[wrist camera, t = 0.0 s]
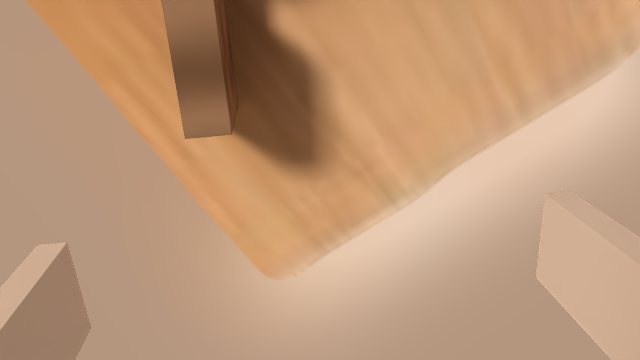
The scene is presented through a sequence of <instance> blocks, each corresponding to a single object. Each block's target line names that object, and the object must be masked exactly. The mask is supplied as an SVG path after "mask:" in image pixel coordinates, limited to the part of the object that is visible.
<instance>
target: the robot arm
mask: <svg viewBox="0 0 640 360" xmlns="http://www.w3.org/2000/svg"><path fill="white" fill-rule="evenodd" d="M536 278H537V279H538V280H539V281H540V282H541V283H542V284H543V286H544V287H545V288H546V289H547V290H548V291H549V292H550V293H551V294H552V295H553V296H554V298H555V299H556V300H557V301H558V302H559V303H560V304H561V305H562V306H563V307H564V308H565V310H566V311H567V312H568V313H569V314H570V315H571V316H572V317H573V318H574V319H575V320H576V322H577V323H578V324H579V325H580V326H581V327H582V328H583V329H584V330H585V331H586V332H587V334H588V335H589V336H590V337H591V338H592V339H593V340H594V341H595V342H596V343H597V344H598V345H599V347H600V348H601V349H602V350H603V351H604V352H605V353H606V354H607V355H608V356H609V358H610V359H611V360H640V238H639V237H638V236H636V235H635V234H633V233H632V232H630V231H629V230H627V229H626V228H624V227H623V226H622V225H620V224H619V223H617V222H616V221H614V220H613V219H611V218H610V217H608V216H607V215H605V214H604V213H603V212H601V211H600V210H598V209H597V208H595V207H594V206H592V205H591V204H589V203H588V202H586V201H585V200H584V199H582V198H581V197H579V196H578V195H576V194H575V193H573V192H572V191H567V192H558V193H547V194H545V201H544V209H543V219H542V227H541V236H540V245H539V255H538V264H537V272H536ZM90 329H91V326H90V322H89V318H88V315H87V311H86V308H85V304H84V301H83V297H82V294H81V290H80V287H79V283H78V279H77V276H76V272H75V269H74V265H73V262H72V258H71V254H70V251H69V248H68V244H67V242H66V243H55V244H47V245H37V246H36V247H35V249H34V250H33V251H32V252H31V253H30V254H29V255H28V257H27V258H26V259H25V260H24V261H23V262H22V263H21V265H20V266H19V267H18V268H17V269H16V270H15V271H14V273H13V274H12V275H11V276H10V277H9V278H8V280H7V281H6V282H5V283H4V284H3V285H2V287H1V288H0V360H75V359H76V357H77V355H78V353H79V351H80V349H81V347H82V345H83V343H84V341H85V339H86V337H87V335H88V333H89V331H90Z"/></svg>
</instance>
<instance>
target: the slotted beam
mask: <svg viewBox="0 0 640 360" xmlns="http://www.w3.org/2000/svg"><path fill="white" fill-rule="evenodd" d="M161 1H162V7H163V13H164V19H165V24H166V30H167V36H168V42H169V48H170V54H171V60H172V65H173V71H174V77H175V83H176V89H177V95H178V101H179V106H180V112H181V118H182V124H183V130H184V136H185V139H189V138H200V137H211V136H222V135H232V130H233V126H234V121H235V117H236V112H237V108H238V105H237V97H236V89H235V81H234V74H233V66H232V58H231V50H230V42H229V34H228V26H227V18H226V11H225V3H224V0H161Z"/></svg>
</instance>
